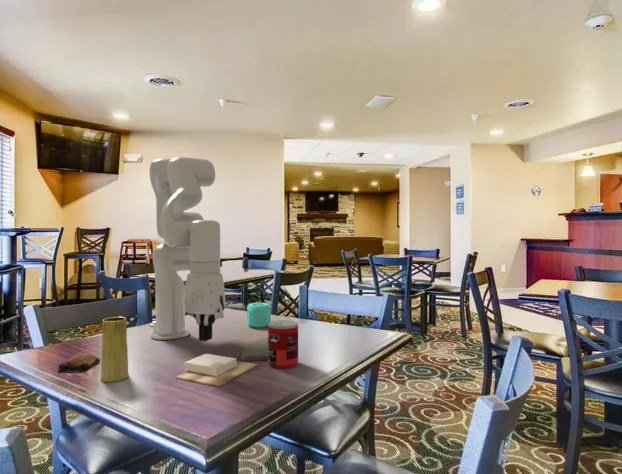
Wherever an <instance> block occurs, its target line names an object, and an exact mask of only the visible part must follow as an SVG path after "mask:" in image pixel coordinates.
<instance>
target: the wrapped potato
mask: <svg viewBox="0 0 622 474" xmlns="http://www.w3.org/2000/svg"><path fill="white" fill-rule="evenodd" d="M101 361H102V358H99V357H96V356H95V355H94V354H91V353H90V352H81V353H78V354H75V355H74V356H72V357H70V358H69V359H68V360H67V361H66V362H62V363H60V364H59V365H58V369H59V370H57V373H58V374H76V373H77V374H78V373H86V372H88V371H89V370H91V369H92V368H94V367H96V365H98V364H99V363H100V362H101Z"/></svg>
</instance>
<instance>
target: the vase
mask: <svg viewBox="0 0 622 474" xmlns="http://www.w3.org/2000/svg"><path fill="white" fill-rule="evenodd" d="M127 322H128V319H127V317H124V316H113V317H106V318H104V319H102V334H101V336H102V339H101V342H102V343H101V344H102V345H101V370H100V371H101V372H100V373H101V374H100V380H101V382H103V383H116V382H120V381H123V380H126V379H128V377H129V376H130V374H129V357H128V342H127V341H128V337H127V334H128V333H127V327H128V326H127Z"/></svg>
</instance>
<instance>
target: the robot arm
mask: <svg viewBox="0 0 622 474" xmlns="http://www.w3.org/2000/svg"><path fill="white" fill-rule="evenodd" d="M149 179H150V183H151V186H152V190H153V193H154V196H155V199H156V200H155V203H156V207H155V208H156V210H155V211H156V214H155V215H156V232H157V235H158V237H159V238H160V239H163V242H164V243H160V244H159V245H156V246H155V247H154V248H153V250H152V252H151V253H152V256H151V257H152V264H153V269H154V279H155V280H154V283H155V284H154V285H155V286H154V287H155V289H154V291H155V320H153V321H152V322H151V323H149V324H148V327H149V329H153V331H151V333H150V338H151V339H154V340H159V341H160V340H162V341H163V340H164V341H165V340H170V341H171V340H177V339H182V338H185V337H188V336H189V335H190V332H191V331H190V329H188V328H186V313H187V315H188V316H190V317H193V318H194V319H195V320H196V325H198V341H200V342H207V341H209V340H212V339H213V324H215V322H216V321H217V320H218V319H223V318H224V316H225V314H224V311H225V309H226V291H225V282H224V276H223V273H221V225H220V223H219V221H217V220H213V219H211V220H209V219H204V217H203V216H202V214H200V213H199V212H192V211H191V212H188V210H191V209H193V208H194V207H197V206H198V205H199V204H200V203H201V202H202V200H203V192H202V188H201V187H204V188H206V187H211V186H212V185H213V184H214V183H215V179H216V170H215V167H214V165H213V163H212V162H211V161H210V160H208V159H206V158H205V159H204V158H195V157H185V156H183V157H182V156H177V157H174V158H157V159H154V160H153V161H152V162H151V163H150V165H149ZM186 211H187V212H186ZM181 271H182V272H183V271H189V273H188V274H187V276H186V280H185V282H184V280H183V278H182V277H181V276H180V275H179V274H178V272H181Z"/></svg>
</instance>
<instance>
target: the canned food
mask: <svg viewBox="0 0 622 474" xmlns="http://www.w3.org/2000/svg"><path fill="white" fill-rule="evenodd" d="M267 332H268V333H267V335H268V336H267V337H268V360H267V361H268V364H269V366H270V367H271V368H274V369H291V368H295V367H296V366H298V363H299V323H298V322H297V321H295V320H290V319H289V320H288V319H287V320H286V319H282V320H279V319H278V320H273V321H270V323H268V326H267Z"/></svg>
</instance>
